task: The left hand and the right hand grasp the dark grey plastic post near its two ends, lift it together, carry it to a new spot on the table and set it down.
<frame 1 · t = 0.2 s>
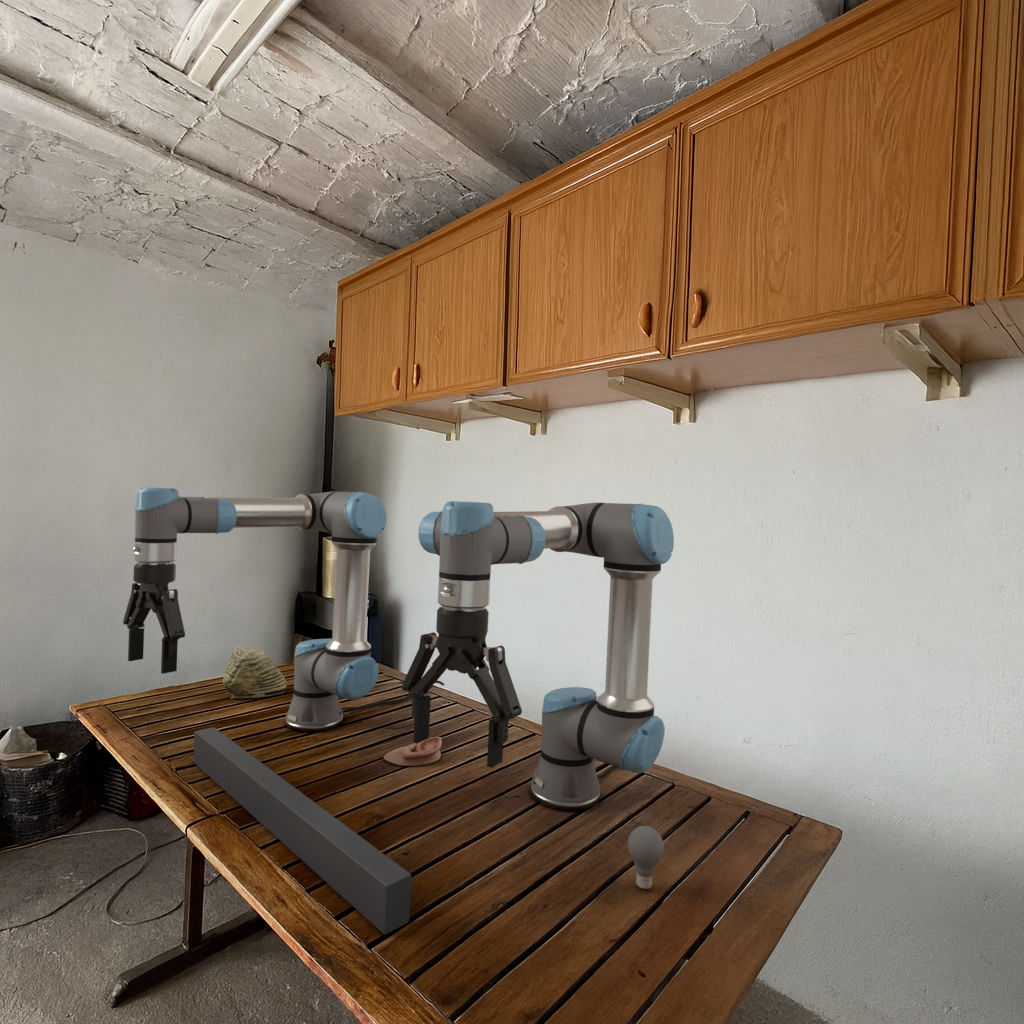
left hand: (151, 666, 130), 27 cm above the table, tool pointing down, fingers open, 13 cm apart
right hand: (456, 752, 93), 27 cm above the table, tool pointing down, fingers open, 13 cm apart
fossil: (254, 694, 198), on the table
anatomical model: (412, 757, 156), on the table
post: (278, 824, 122), on the table
light bulb: (643, 887, 107), on the table
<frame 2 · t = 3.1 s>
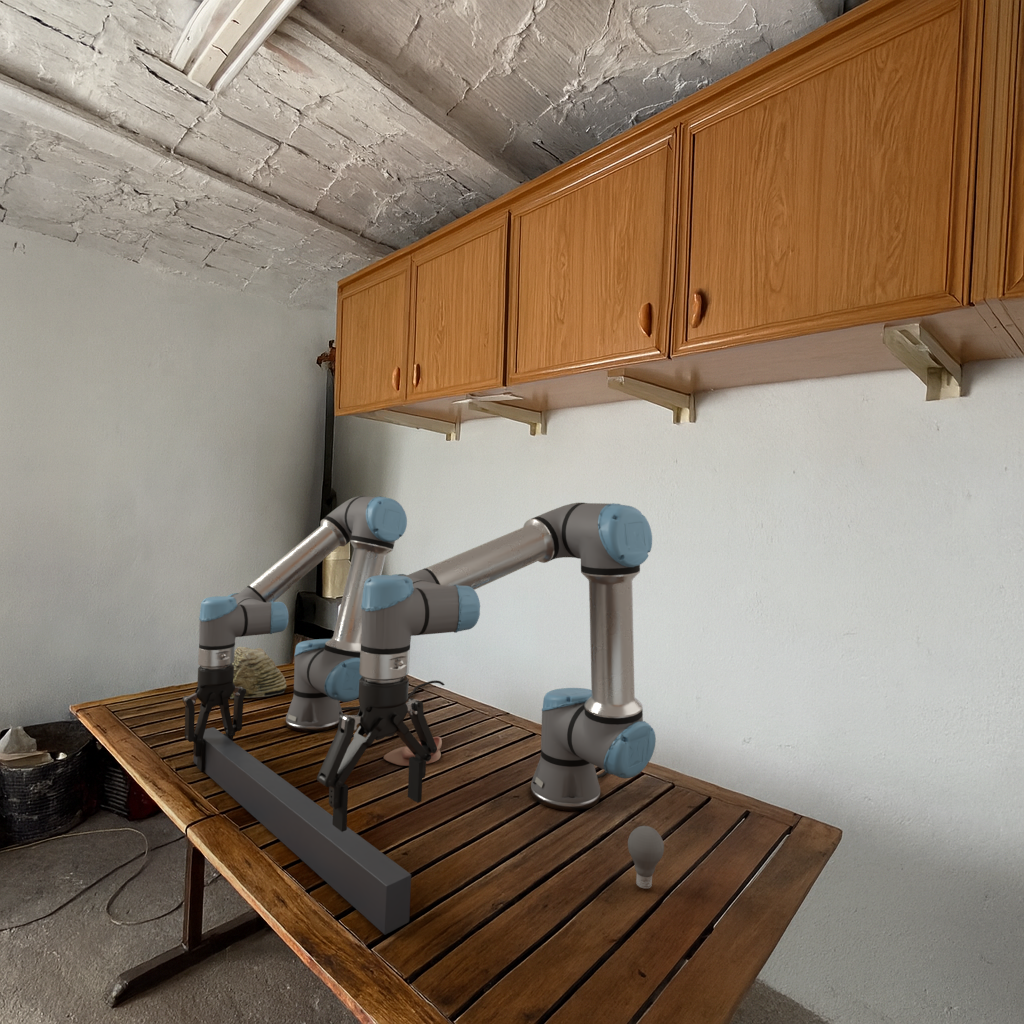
left hand: (212, 765, 145), 0 cm above the table, tool pointing down, fingers closed on post, 4 cm apart
right hand: (378, 812, 98), 15 cm above the table, tool pointing down, fingers open, 13 cm apart
post: (278, 824, 122), on the table, touching left hand
everything else where it was.
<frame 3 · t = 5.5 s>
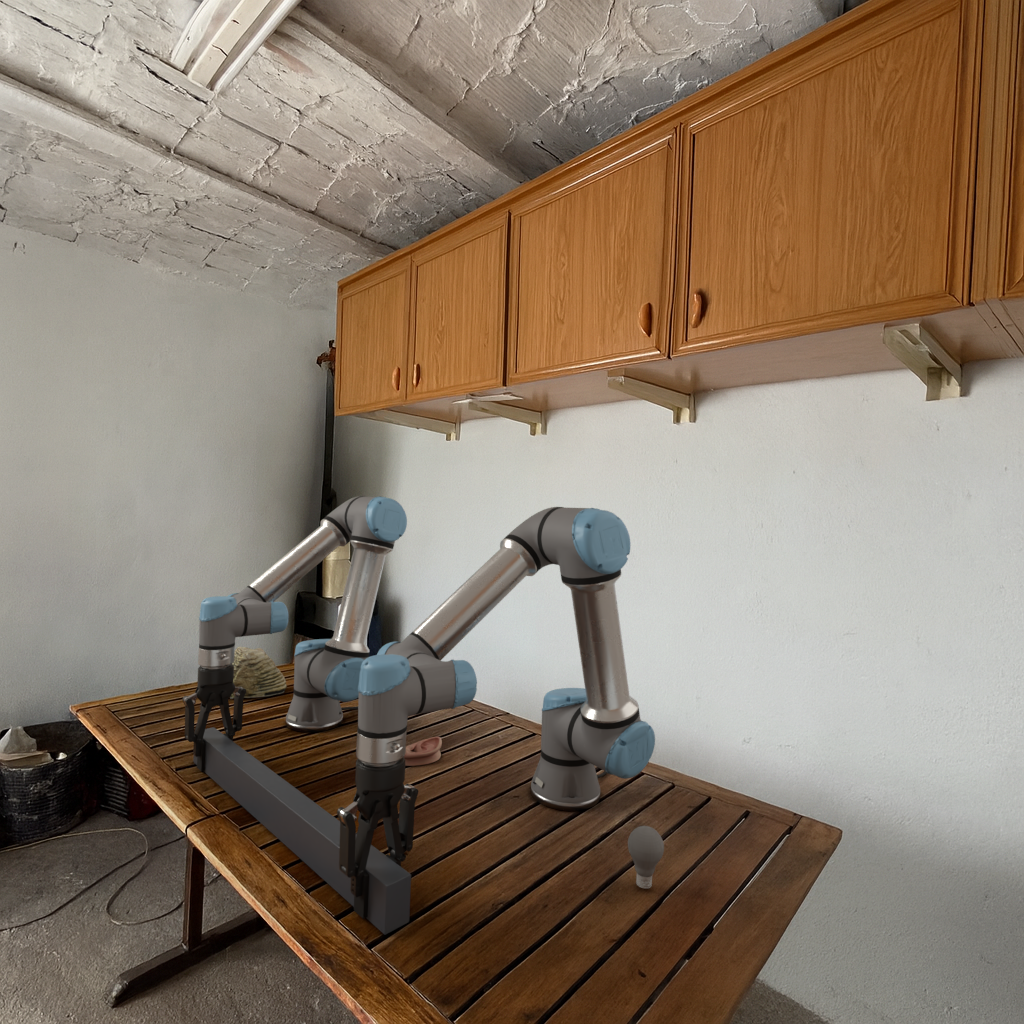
left hand: (212, 765, 145), 0 cm above the table, tool pointing down, fingers closed on post, 4 cm apart
right hand: (375, 906, 98), 0 cm above the table, tool pointing down, fingers closed on post, 4 cm apart
post: (278, 824, 122), on the table, touching left hand, right hand
everything else where it was.
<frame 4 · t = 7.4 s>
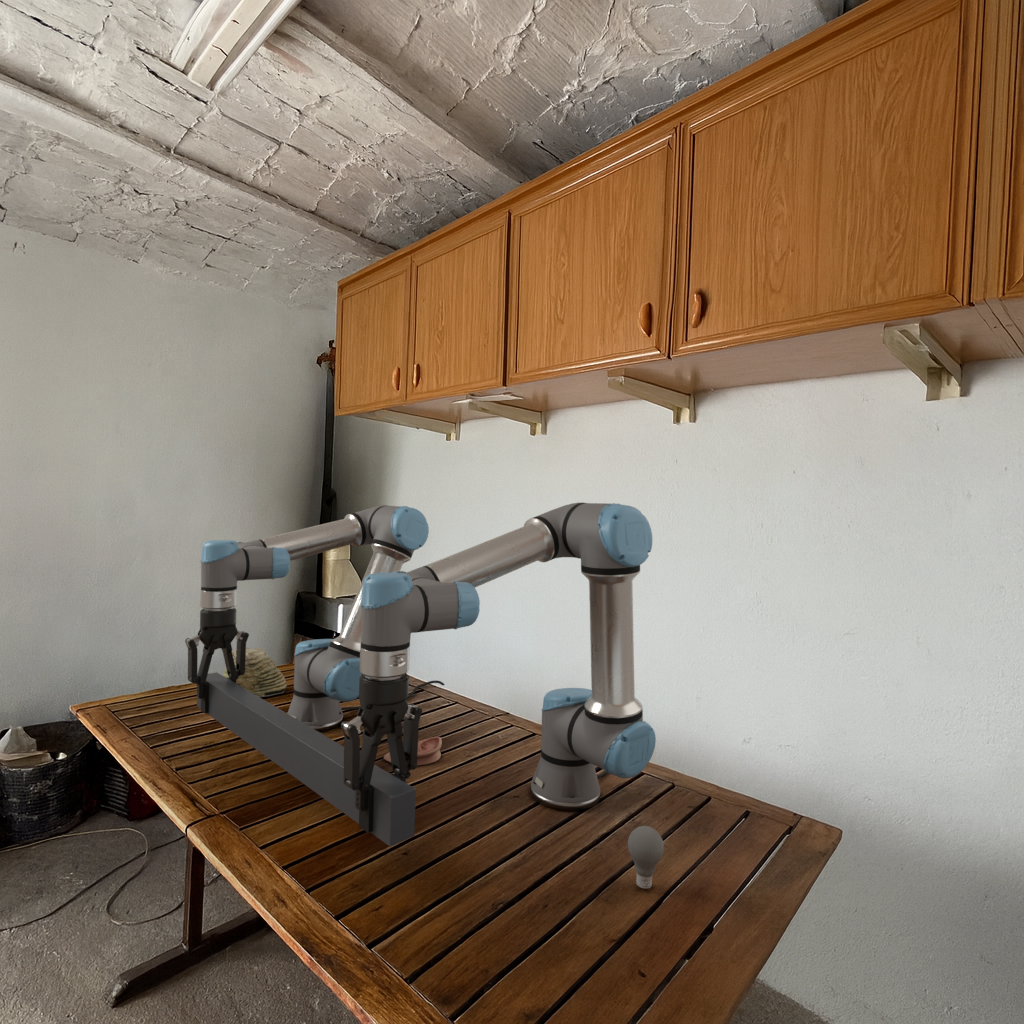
left hand: (216, 708, 145), 14 cm above the table, tool pointing down, fingers closed on post, 4 cm apart
right hand: (380, 822, 98), 13 cm above the table, tool pointing down, fingers closed on post, 4 cm apart
post: (282, 757, 122), point 13 cm above the table, touching left hand, right hand
everything else where it was.
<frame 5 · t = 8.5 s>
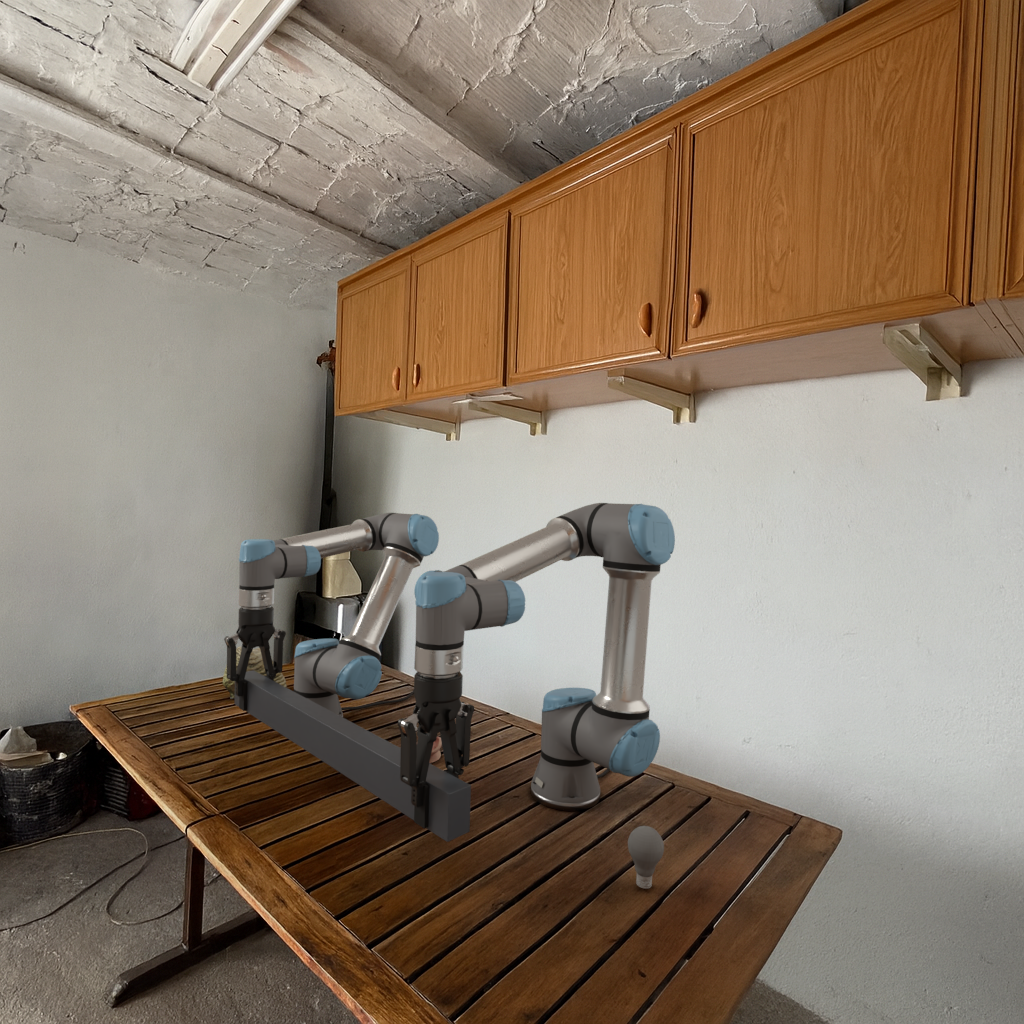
left hand: (254, 706, 147), 14 cm above the table, tool pointing down, fingers closed on post, 4 cm apart
right hand: (434, 818, 100), 14 cm above the table, tool pointing down, fingers closed on post, 4 cm apart
post: (327, 754, 123), point 13 cm above the table, touching left hand, right hand
everything else where it was.
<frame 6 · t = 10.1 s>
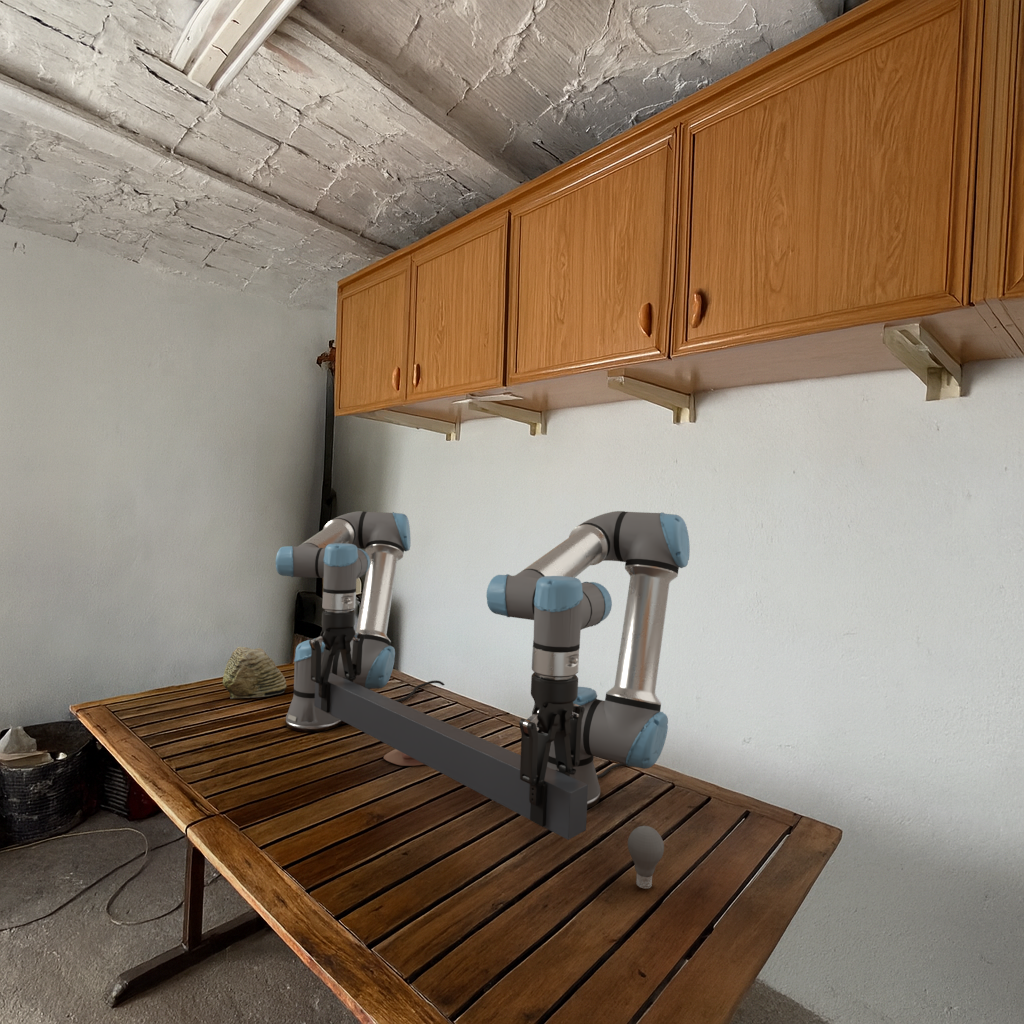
left hand: (335, 708, 149), 14 cm above the table, tool pointing down, fingers closed on post, 4 cm apart
right hand: (548, 817, 102), 14 cm above the table, tool pointing down, fingers closed on post, 4 cm apart
post: (421, 755, 125), point 13 cm above the table, touching left hand, right hand
everything else where it was.
when the left hand's fingers open (2 cm above the table, at t = 11.5 s): post drops 1 cm, on the table.
when the right hand's fingers open (2 cm above the table, at t = 11.5 s): post drops 1 cm, on the table.
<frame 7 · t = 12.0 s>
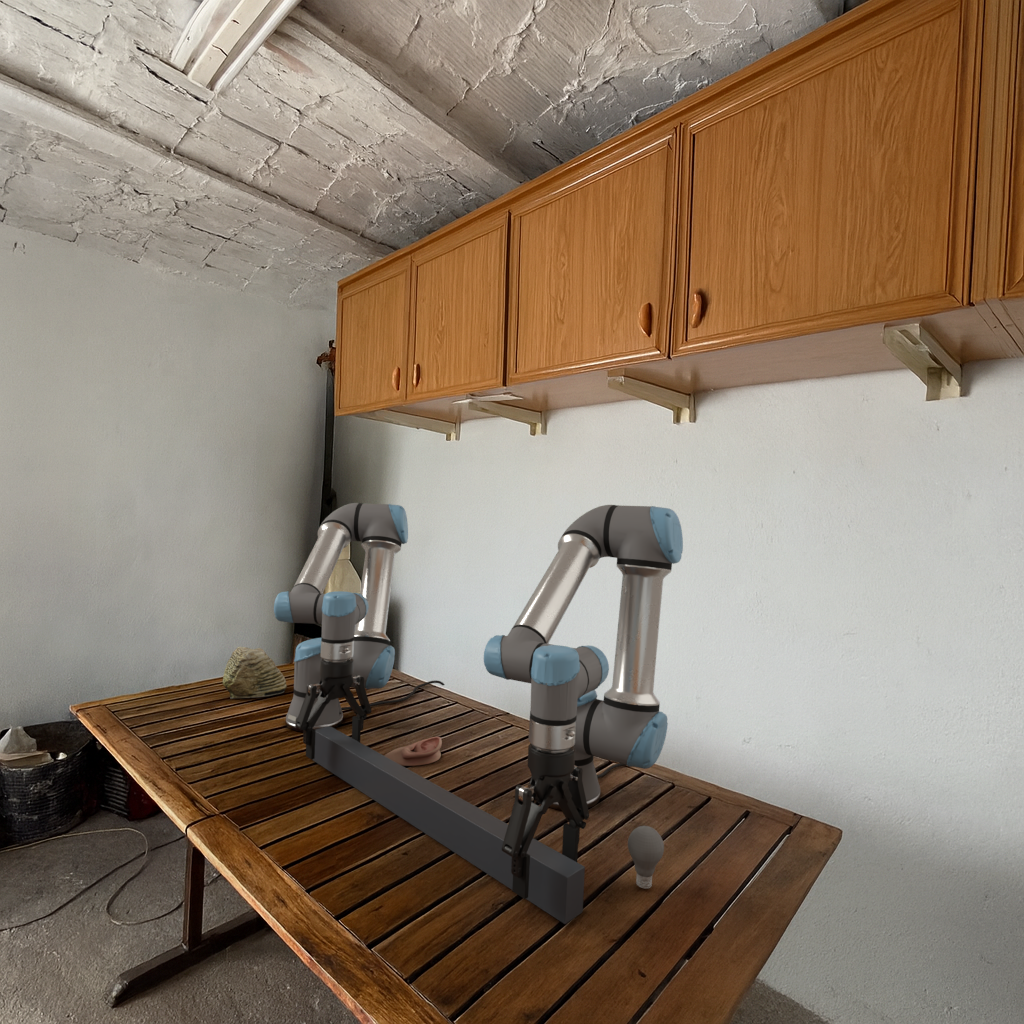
left hand: (333, 750, 149), 4 cm above the table, tool pointing down, fingers open, 11 cm apart
right hand: (545, 879, 102), 4 cm above the table, tool pointing down, fingers open, 11 cm apart
post: (419, 820, 126), on the table
everything else where it was.
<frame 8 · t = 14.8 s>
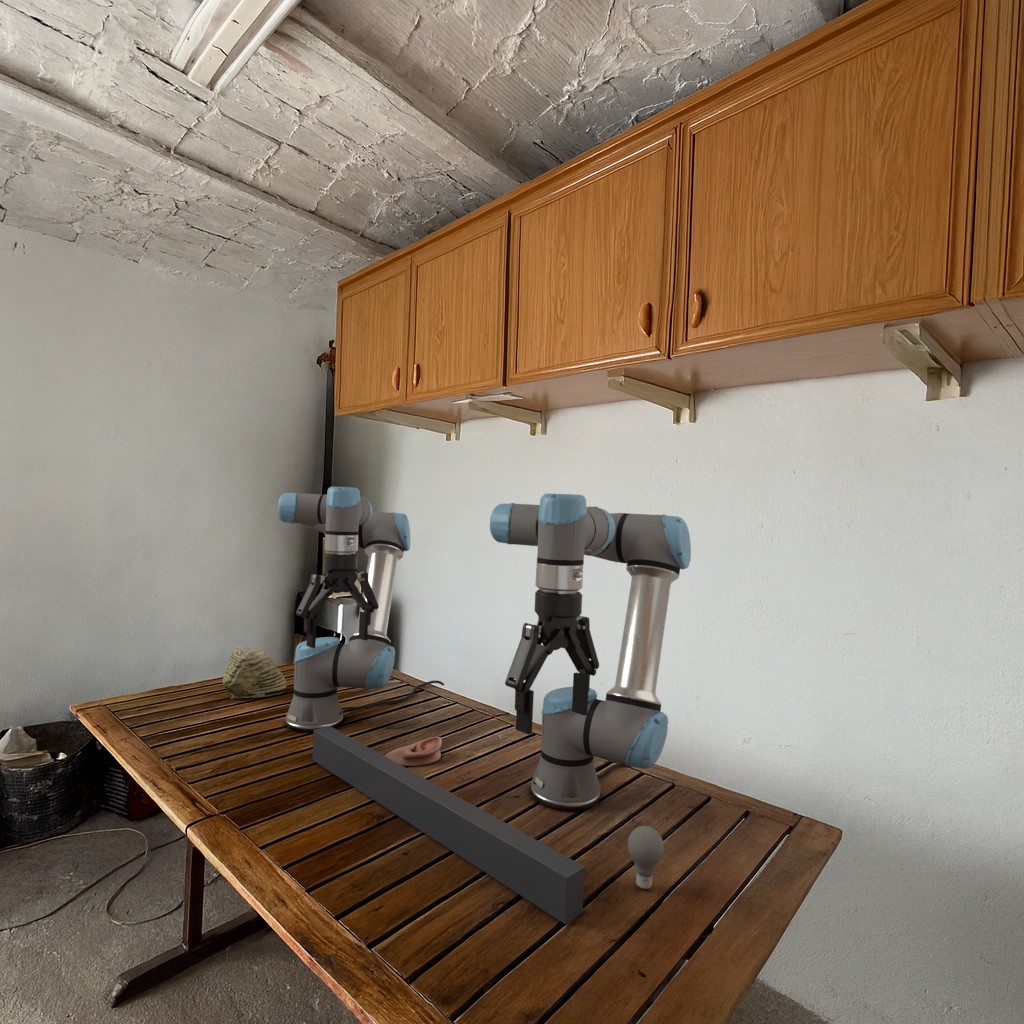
left hand: (337, 643, 149), 29 cm above the table, tool pointing down, fingers open, 13 cm apart
right hand: (552, 722, 102), 29 cm above the table, tool pointing down, fingers open, 13 cm apart
nothing on the table moved.
at the end: post inside the target area (0.2 cm from its centre), on the table; post tilted 0°; post never tilted more than 2° during the clip; both hands held the post at the same time; the left hand is holding nothing; the right hand is holding nothing; post at rest at the end (0.0 cm/s) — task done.
